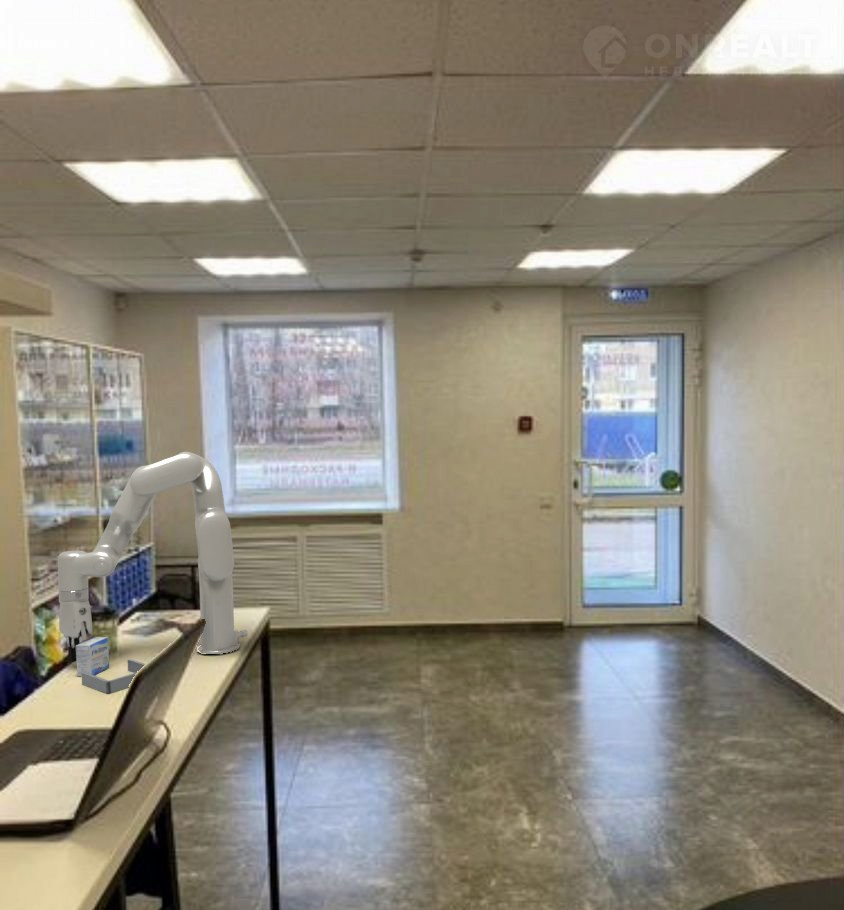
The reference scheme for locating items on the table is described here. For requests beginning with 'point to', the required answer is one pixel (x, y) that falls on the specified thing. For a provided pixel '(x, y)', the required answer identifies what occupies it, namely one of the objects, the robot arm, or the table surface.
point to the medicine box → (92, 656)
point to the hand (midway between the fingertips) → (75, 660)
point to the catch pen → (113, 684)
